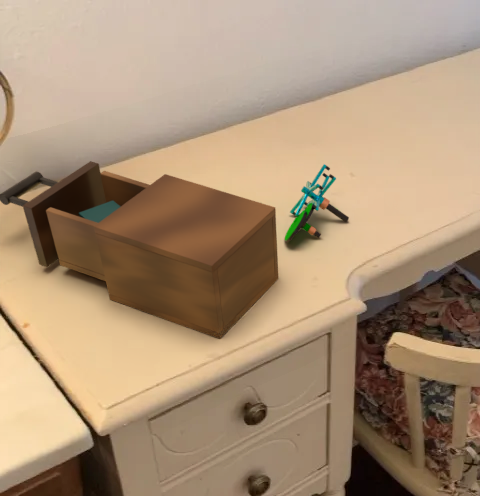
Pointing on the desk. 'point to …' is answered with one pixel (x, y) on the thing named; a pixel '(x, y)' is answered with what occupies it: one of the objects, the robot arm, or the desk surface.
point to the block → (99, 211)
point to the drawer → (70, 214)
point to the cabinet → (189, 254)
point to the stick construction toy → (312, 206)
